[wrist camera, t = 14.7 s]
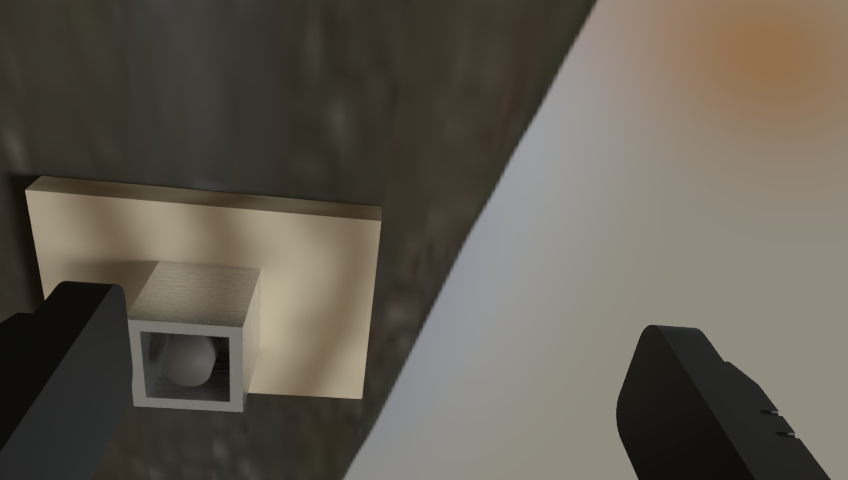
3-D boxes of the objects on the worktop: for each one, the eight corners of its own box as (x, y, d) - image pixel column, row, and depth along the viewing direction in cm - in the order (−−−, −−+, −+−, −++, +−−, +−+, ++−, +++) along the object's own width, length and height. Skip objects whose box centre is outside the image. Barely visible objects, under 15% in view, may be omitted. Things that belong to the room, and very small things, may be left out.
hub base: (72, 362, 44) (14, 451, 37) (41, 175, 38) (-36, 241, 31) (362, 379, 46) (359, 466, 40) (381, 206, 40) (381, 274, 33)
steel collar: (165, 340, 41) (134, 406, 36) (159, 260, 39) (124, 319, 33) (260, 346, 42) (242, 412, 37) (261, 268, 39) (242, 327, 34)
